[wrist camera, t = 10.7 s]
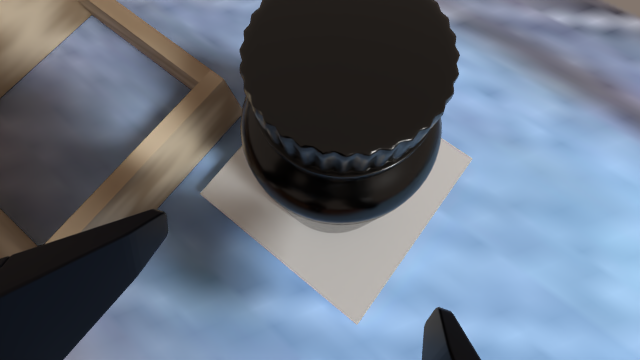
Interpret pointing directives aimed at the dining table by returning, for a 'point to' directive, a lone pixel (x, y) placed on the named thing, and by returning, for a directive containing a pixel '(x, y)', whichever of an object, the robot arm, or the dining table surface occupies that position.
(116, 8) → the crate
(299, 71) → the supplement bottle
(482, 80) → the dining table surface
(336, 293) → the mat
